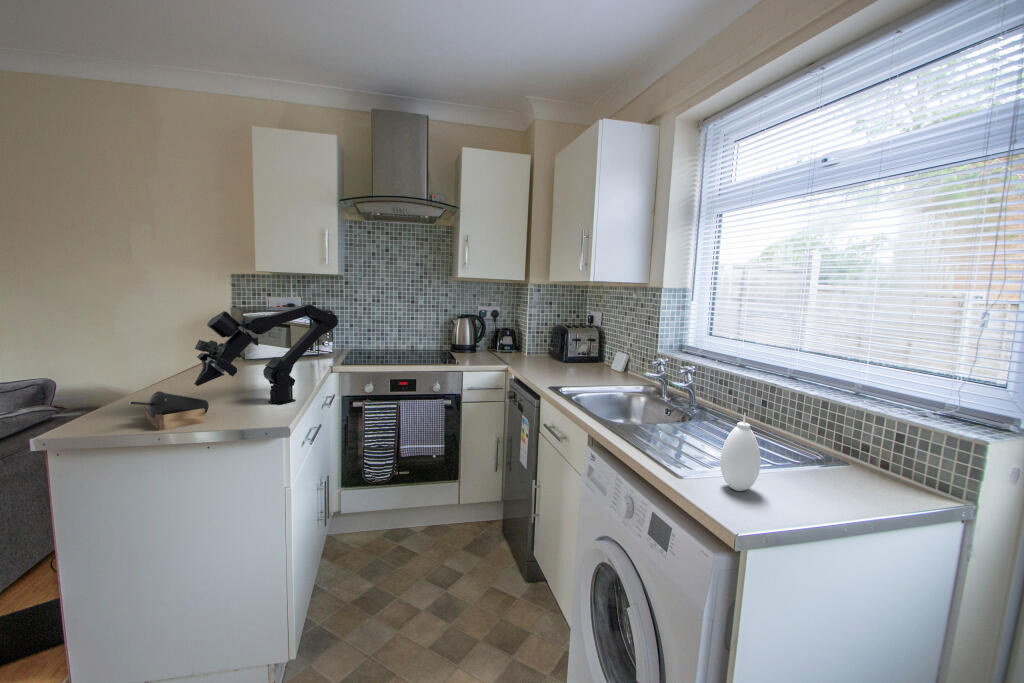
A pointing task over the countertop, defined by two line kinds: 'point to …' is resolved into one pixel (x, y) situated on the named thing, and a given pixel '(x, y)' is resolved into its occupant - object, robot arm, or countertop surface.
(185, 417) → the wooden tray
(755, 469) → the sauce bottle
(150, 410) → the drinking cup
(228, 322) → the robot arm
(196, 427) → the countertop surface
